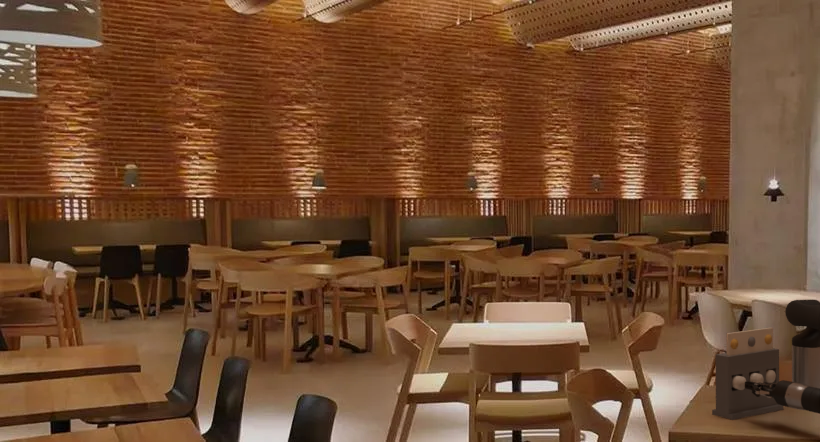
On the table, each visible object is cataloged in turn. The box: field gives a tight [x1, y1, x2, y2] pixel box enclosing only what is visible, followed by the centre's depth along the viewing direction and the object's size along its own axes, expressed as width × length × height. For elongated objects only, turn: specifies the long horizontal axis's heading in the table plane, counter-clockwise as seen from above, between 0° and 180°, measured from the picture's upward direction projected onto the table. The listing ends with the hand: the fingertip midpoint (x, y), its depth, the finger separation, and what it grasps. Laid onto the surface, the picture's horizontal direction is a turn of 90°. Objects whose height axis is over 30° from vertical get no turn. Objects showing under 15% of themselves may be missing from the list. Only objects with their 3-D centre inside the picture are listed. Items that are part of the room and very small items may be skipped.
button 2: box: [766, 369, 776, 383], centre depth 280 cm, size 4×3×4 cm
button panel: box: [711, 347, 784, 421], centre depth 277 cm, size 24×8×20 cm, turn 119°
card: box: [726, 327, 774, 356], centre depth 275 cm, size 21×1×7 cm, turn 119°
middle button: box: [749, 372, 764, 383], centre depth 274 cm, size 4×3×4 cm
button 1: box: [732, 375, 746, 390], centre depth 270 cm, size 4×3×4 cm
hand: (746, 384), depth 268 cm, fingers closed
